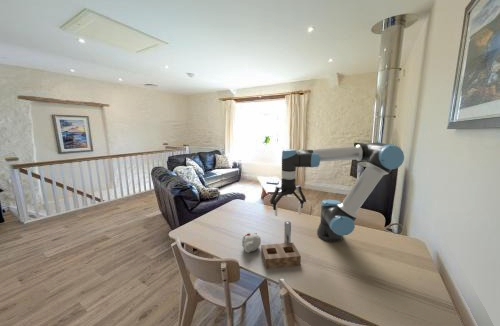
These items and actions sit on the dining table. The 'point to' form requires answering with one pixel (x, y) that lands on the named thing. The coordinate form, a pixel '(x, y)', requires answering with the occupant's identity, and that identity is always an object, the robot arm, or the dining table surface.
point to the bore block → (280, 255)
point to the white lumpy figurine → (251, 242)
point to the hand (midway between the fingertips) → (287, 214)
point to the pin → (287, 232)
